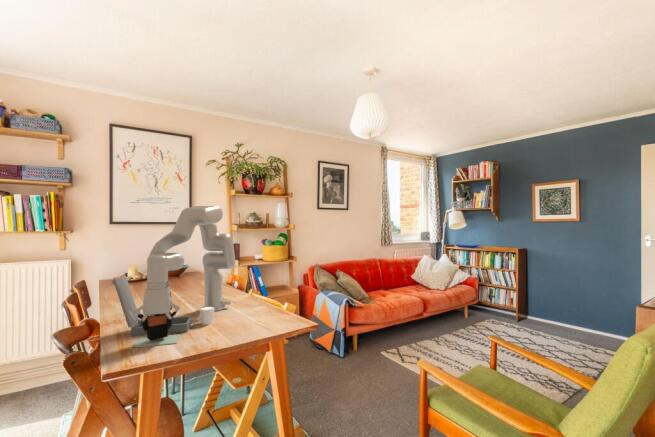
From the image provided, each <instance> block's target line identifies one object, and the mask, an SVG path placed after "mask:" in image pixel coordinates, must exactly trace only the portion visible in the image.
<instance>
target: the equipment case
mask: <svg viewBox="0 0 655 437" xmlns="http://www.w3.org/2000/svg"><path fill="white" fill-rule="evenodd" d="M128 312H129V313H130V315H131V317H132V319H133V320H134V322H135V324H132V325H131V326H132V327H130V332H131V333H130V337H144V336H147V331H144V329H143V321H142V320H141V319H140V318H139V319H138V321H137V322H136V320H135V318H134V316H133V315H132V313H131V311H130V310H129V311H128ZM191 325H192V316H191V315H190V316H189V315H187V316H175V317H174V316H173V317H172V326H170V329H168V334H176V333H187V332H188V331H189V329H190V328H191Z"/></svg>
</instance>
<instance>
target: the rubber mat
mask: <svg viewBox="0 0 655 437" xmlns="http://www.w3.org/2000/svg"><path fill="white" fill-rule="evenodd" d="M181 336H182V334H181V333H180V334H168V336H167V337H164V338H160V339H156V340H152V341H150V340H149V339H148V338H147V336H145V337H144V336H143V337H138V338H137V339H136V341H135V342H134V343H133V344H132V345H131V346H130V348H131V349H134V348H133V347H136V348H143V347H144V348H145V347H153V346H154V347H155V346H156V347H157V346H167V345H176V344H177V343H178V341H179V340H180V338H181Z"/></svg>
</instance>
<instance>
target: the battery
mask: <svg viewBox="0 0 655 437" xmlns="http://www.w3.org/2000/svg"><path fill="white" fill-rule="evenodd" d="M167 319H168V317H167V316H166V314H156V315H149V316H147V335H146V337H147V338H148V339H149V340H150V341H152V340H156V339H160V338H164V337H167V336H168V335H169V333H168V329H167Z"/></svg>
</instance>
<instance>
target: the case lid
mask: <svg viewBox="0 0 655 437" xmlns="http://www.w3.org/2000/svg"><path fill="white" fill-rule="evenodd" d="M113 284H114V287H115V290H116V294H117V297H118V299H119V303H120V306H121V309H122V312H123V315H124V317H125V318H124V319H125V321H126V324H127V327H128V329H129V328H130V329H131V327H132V326H131V325H132V324H135V322H134V320H133V319H132V317H131V315H130V313H129V312H128V311H129V310H130V311H131V313H132V315H133V316H134V318H135V320H136V322H138V319H139V317H138V316H137V315H136V314H135V313H134V311H135V310H136V309H137V306H136V303H135V300H134V296H133V294H132V291H131V287H130V284H129V281H128V278H127V276H126V275H122V276H121V277H118V278H116V279H114V280H113Z"/></svg>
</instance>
